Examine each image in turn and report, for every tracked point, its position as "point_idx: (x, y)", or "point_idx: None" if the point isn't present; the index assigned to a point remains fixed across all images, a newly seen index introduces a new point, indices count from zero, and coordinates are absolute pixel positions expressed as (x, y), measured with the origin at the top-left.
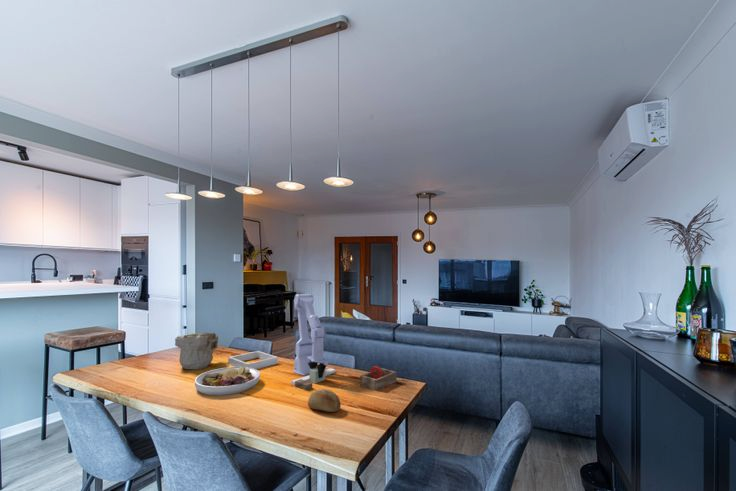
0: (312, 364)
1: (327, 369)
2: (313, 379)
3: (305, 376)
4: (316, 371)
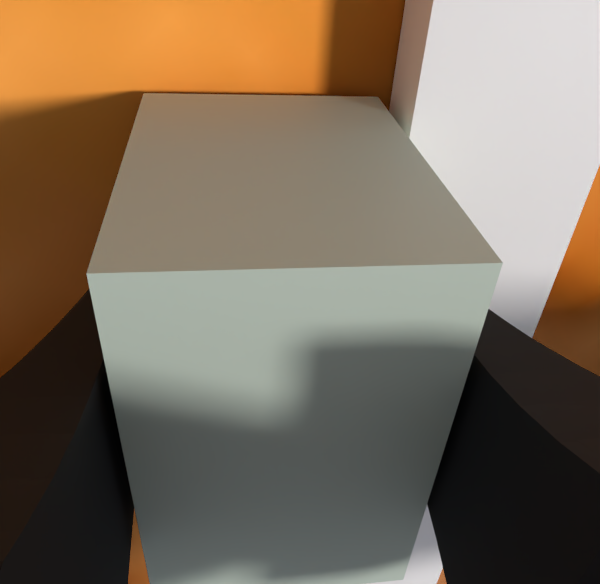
0: (547, 535)
1: (429, 580)
2: (218, 124)
3: (591, 169)
4: (98, 311)
